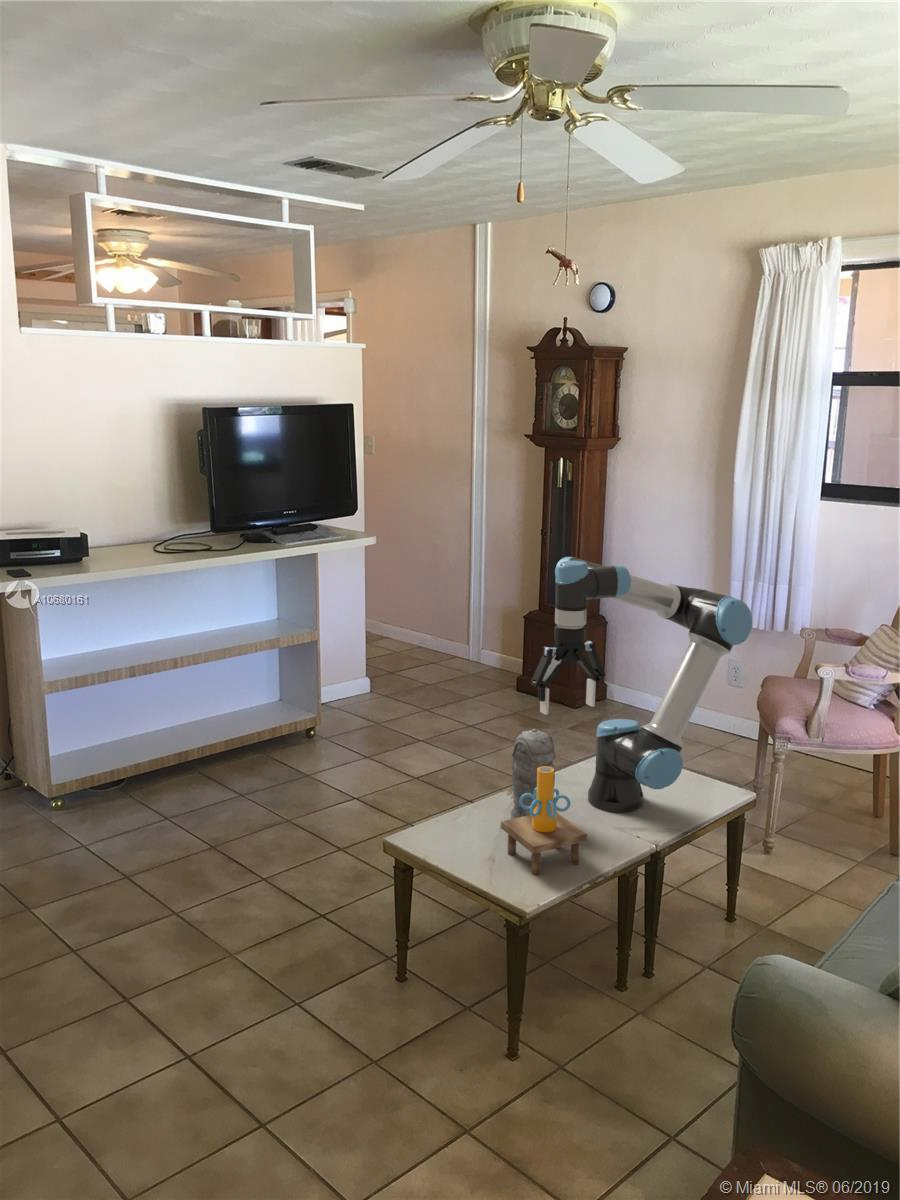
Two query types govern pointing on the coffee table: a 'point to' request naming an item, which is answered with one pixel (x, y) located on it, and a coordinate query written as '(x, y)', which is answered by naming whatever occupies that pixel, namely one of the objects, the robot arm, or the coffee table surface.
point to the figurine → (529, 766)
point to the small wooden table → (543, 838)
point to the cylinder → (544, 801)
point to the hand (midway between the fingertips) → (567, 709)
